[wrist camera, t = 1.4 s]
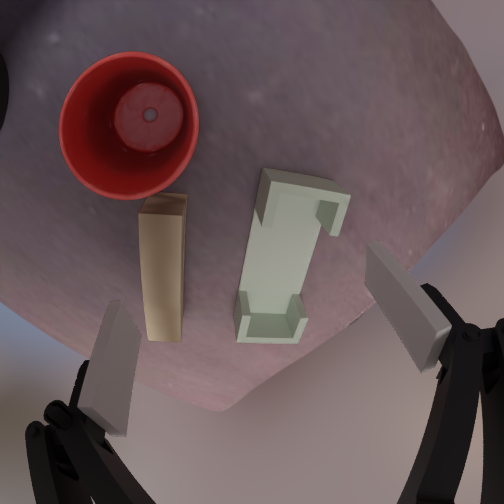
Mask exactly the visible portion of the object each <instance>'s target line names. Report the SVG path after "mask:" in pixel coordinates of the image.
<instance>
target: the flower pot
mask: <svg viewBox="0 0 504 504" xmlns="http://www.w3.org/2000/svg"><path fill="white" fill-rule="evenodd" d="M58 131H59V142H60V147H61V151H62V154H63V157H64V159H65V161H66V163H67V165H68V167H69V168H70V170H71V172H72V173H73V174H74V176H75V177H76V178H77V179H78V180H79V181H80V182H81V183H82V184H83V185H84V186H86V187H87V188H89V189H90V190H92V191H93V192H95V193H97V194H99V195H101V196H104V197H107V198H111V199H117V200H136V199H141V198H145V197H148V196H151V195H153V194H155V193H157V192H159V191H161V190H163V189H165V188H166V187H167V186H169V185H170V184H171V183H172V182H174V181H175V180H176V179H177V178H178V177H179V175H180V174H181V173H182V172H183V171H184V169H185V168H186V166H187V165H188V163H189V161H190V160H191V157H192V155H193V153H194V150H195V147H196V143H197V139H198V133H199V112H198V106H197V102H196V99H195V96H194V93H193V91H192V89H191V87H190V85H189V83H188V82H187V80H186V79H185V77H184V76H183V75H182V74H181V73H180V72H179V70H178V69H176V68H175V67H174V66H173V65H172V64H170V63H169V62H167V61H166V60H164V59H162V58H160V57H157V56H155V55H152V54H148V53H144V52H136V51H128V52H121V53H117V54H113V55H110V56H108V57H105V58H103V59H101V60H99V61H97V62H96V63H95V64H93V65H92V66H90V67H89V68H88V69H87V70H85V71H84V72H83V73H82V74H81V75H80V76H79V78H78V79H77V80H76V81H75V83H74V84H73V85H72V87H71V89H70V90H69V92H68V94H67V96H66V98H65V101H64V103H63V106H62V109H61V113H60V119H59V130H58Z"/></svg>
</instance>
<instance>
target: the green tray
mask: <svg viewBox="0 0 504 504" xmlns="http://www.w3.org/2000/svg"><path fill="white" fill-rule="evenodd" d="M350 197H351V195H350V194H349V193H348V192H347V191H345V190H344V189H343V188H342V187H341V186H339V185H338V184H337V183H336V182H335V181H333V180H330V179H326V178H321V177H315V176H310V175H305V174H300V173H294V172H288V171H282V170H277V169H270V168H264V167H263V168H262V173H261V178H260V183H259V188H258V193H257V198H256V203H255V208H254V213H253V218H252V223H251V228H250V233H249V238H248V243H247V248H246V253H245V258H244V263H243V268H242V273H241V279H240V284H239V289H238V294H237V299H236V304H235V309H234V314H233V316H234V325H235V334H236V342H244V343H286V344H298V343H299V340H300V338H301V335H302V333H303V330H304V328H305V325H306V323H307V320H308V316H307V313H306V311H305V308H304V306H303V303H302V300H301V298H300V295H299V294H300V291H301V288H302V285H303V282H304V279H305V276H306V273H307V269H308V266H309V263H310V260H311V257H312V254H313V251H314V247H315V244H316V241H317V238H318V235H319V231H320V228H321V225H322V226H323V227H324V229H325V230H326V231H327V233H328V234H329V235H331V236H338V235H339V232H340V229H341V226H342V223H343V220H344V217H345V214H346V210H347V207H348V204H349V201H350Z"/></svg>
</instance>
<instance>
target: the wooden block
mask: <svg viewBox="0 0 504 504" xmlns="http://www.w3.org/2000/svg"><path fill="white" fill-rule="evenodd" d="M186 210H187V194H178V193H160V192H157V193H155V194H153V195H151V196H148V197H147V199H146V201H145V202H144V204H143V206H142V208H141V209H140V211H139V213H138V223H139V249H140V266H141V279H142V291H143V302H144V311H145V320H146V328H147V336H148V340H152V341H165V342H180V343H181V338H182V325H183V313H184V256H185V230H186Z"/></svg>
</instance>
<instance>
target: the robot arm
mask: <svg viewBox="0 0 504 504" xmlns="http://www.w3.org/2000/svg"><path fill="white" fill-rule="evenodd" d="M7 100H8V75H7V70H6V66H5V63H4V61H3V59H2V57H1V55H0V128H1V126H2V123H3V120H4V116H5V112H6V107H7ZM365 285H366V287H367V288H368V290H369V291H370V293H371V294H372V296H373V297H374V299H375V300H376V302H377V303H378V305H379V306H380V308H381V309H382V311H383V313H384V314H385V315H386V317H387V319H388V320H389V322H390V323H391V325H392V326H393V328H394V330H395V331H396V333H397V335H398V336H399V338H400V339H401V341H402V343H403V344H404V346H405V348H406V349H407V351H408V352H409V354H410V356H411V357H412V359H413V361H414V362H415V364H416V366H417V368H418V369H419V371H420V373H424V372H426V371H428V370H430V369H432V368H434V367H435V366H436V364H437V361H438V359H439V361H440V362H441V364H442V367H441V369H440V371H439V373H438V375H437V377H436V379H438V378H439V379H438V384H437V388H436V392H435V396H434V401H433V405H432V408H431V412H430V416H429V419H428V423H427V426H426V429H425V433H424V436H423V439H422V442H421V445H420V448H419V451H418V454H417V456H416V459H415V462H414V465H413V467H412V470H411V472H410V475H409V477H408V480H407V482H406V485H405V487H404V489H403V491H402V494H401V496H400V498H399V500H398V502H397V504H455V503H454V498H455V495H456V492H457V489H458V486H459V483H460V480H461V477H462V473H463V470H464V467H465V463H466V459H467V455H468V451H469V447H470V443H471V438H472V434H473V429H474V424H475V419H476V413H477V406H478V399H479V392H480V394H481V404H482V418H483V444H484V445H483V481H482V493H481V503H480V504H504V318H502V319H500V320H498V322H497V323H496V326H495V327H493V328H487V329H480V328H479V327H477V326H476V325H474V324H471V323H465V322H464V321H463V320H462V318H461V317H460V316H459V315H458V313H457V312H456V311H455V310H454V309H453V307H452V306H451V305H450V304H449V303H448V302H447V300H446V299H445V298H444V297H442V295H441V293H440V292H439V291H438V290H437V289H436V288H435V287H433V286H431V285H429V284H428V283H426V284H423V285H421V286H420V285H419V284H418V283H417V282H416V281H415V280H414V279H413V277H412V276H411V275H410V274H409V273H408V272H407V270H406V269H405V268H404V267H403V266H402V265H401V264H400V263H399V261H398V260H397V259H396V258H395V257H394V256H393V255H392V254H391V253H390V252H389V251H388V249H387V248H386V247H385V246H384V245H383V244H382V243H381V242H380V241H379V240H378V241H374V242H370V243H366V272H365ZM141 337H142V334H141V333H140V331H139V329H138V328H137V326H136V324H135V323H134V321H133V319H132V317H131V316H130V314H129V312H128V310H127V309H126V307H125V305H124V303H123V301H122V300H117V301H112V302H109V305H108V308H107V310H106V313H105V316H104V319H103V322H102V324H101V327H100V330H99V333H98V336H97V339H96V342H95V345H94V349H93V352H92V355H91V358H90V360H85V361H84V362H83V364H82V365H81V367H80V368H79V371H78V374H77V379H76V381H75V386H74V388H73V392H72V395H71V399H70V403H69V406H67V405H66V404H65V403H64V402H63V401H60V400H54V401H52V402H51V403H49V404H48V405H47V407H46V409H45V411H44V420H45V421H46V422H47V423H49V425H46V426H44V425H43V424H42V423H41V422H39V421H33V422H32V423H30V424H29V425H28V427H27V429H26V432H25V440H26V449H27V457H28V463H29V469H30V476H31V481H32V487H33V491H34V496H35V500H36V504H93V502H92V499H93V500H94V502H95V504H156V503H155V502H154V501H153V500H152V498H151V497H150V496H149V495H148V494H147V493H146V491H145V490H144V489H143V488H142V486H141V485H140V484H139V483H138V482H137V480H136V479H135V478H134V476H133V475H132V474H131V472H130V471H129V470H128V469H127V467H126V466H125V464H124V463H123V462H122V461H121V459H120V458H119V456H118V455H117V453H116V452H115V450H114V449H113V447H112V446H111V445H110V443H109V441H108V440H107V439H106V438H105V431H106V432H107V433H108V434H109V435H111V436H112V437H126V433H127V425H128V417H129V409H130V401H131V395H132V388H133V382H134V376H135V370H136V364H137V358H138V353H139V347H140V342H141ZM91 497H92V499H91Z"/></svg>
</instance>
